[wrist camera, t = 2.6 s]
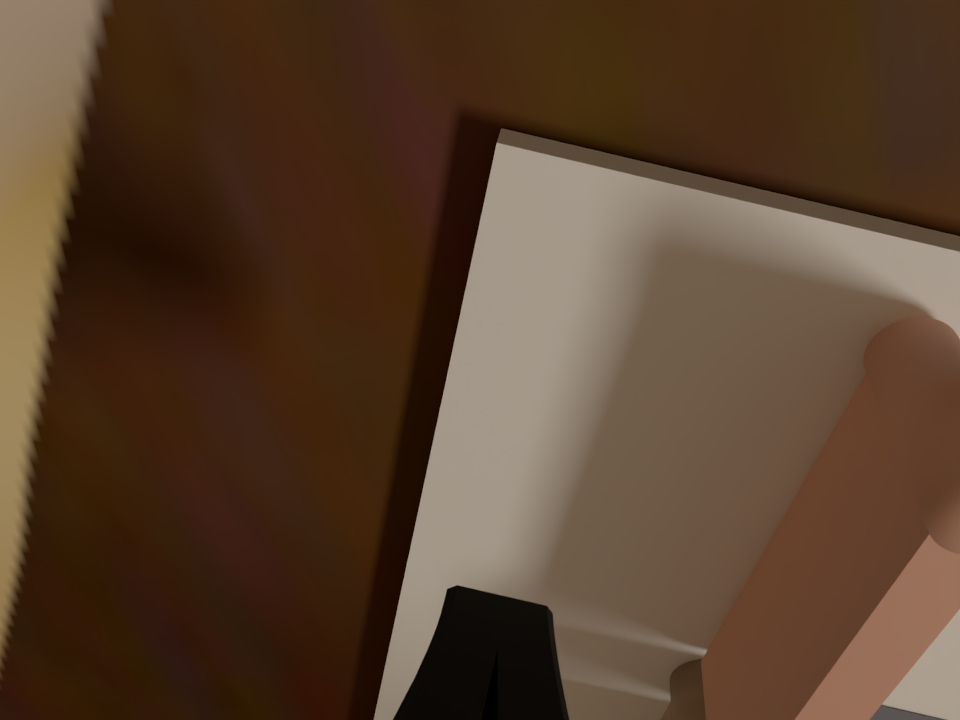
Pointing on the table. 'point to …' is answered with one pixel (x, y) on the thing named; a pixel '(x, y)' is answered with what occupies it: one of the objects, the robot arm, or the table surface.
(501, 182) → the card
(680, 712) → the fixed fence
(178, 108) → the table surface
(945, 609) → the hinged fence panel
